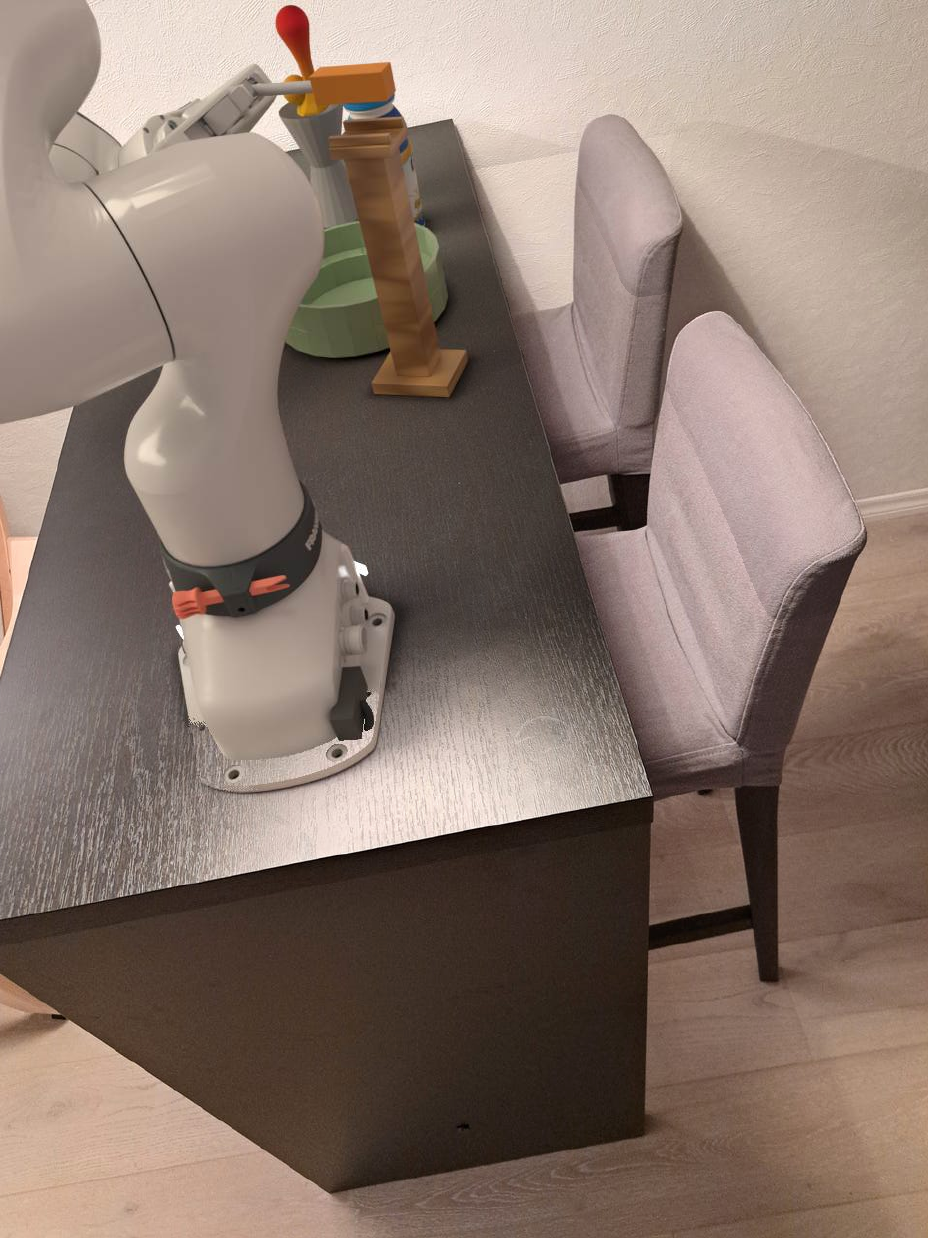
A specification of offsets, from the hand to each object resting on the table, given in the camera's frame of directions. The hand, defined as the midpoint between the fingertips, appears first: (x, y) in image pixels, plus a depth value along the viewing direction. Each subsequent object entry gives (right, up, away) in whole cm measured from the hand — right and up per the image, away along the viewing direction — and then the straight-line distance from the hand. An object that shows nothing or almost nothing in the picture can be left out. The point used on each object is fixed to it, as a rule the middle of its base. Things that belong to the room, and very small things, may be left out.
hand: (255, 84), depth 87 cm
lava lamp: (+1, +11, +53) cm, 54 cm away
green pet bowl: (+7, -11, +31) cm, 34 cm away
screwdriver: (+5, -2, 0) cm, 5 cm away
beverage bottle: (+10, +5, +46) cm, 47 cm away
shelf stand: (+14, -22, +19) cm, 33 cm away
